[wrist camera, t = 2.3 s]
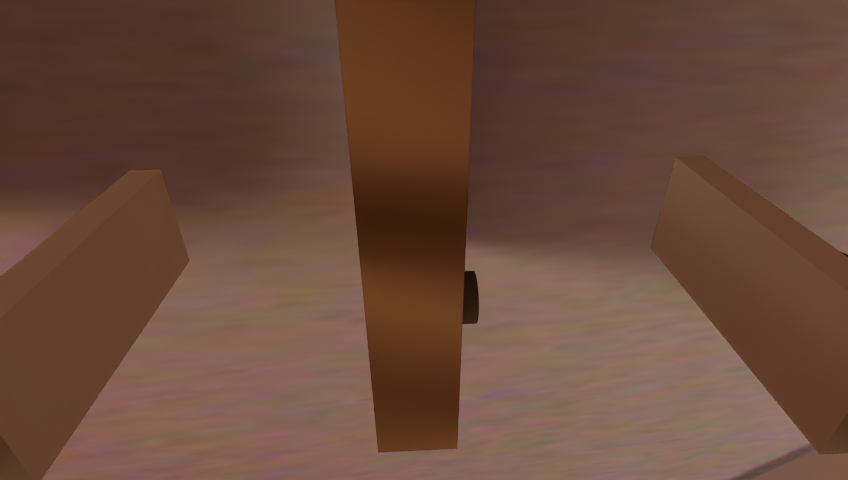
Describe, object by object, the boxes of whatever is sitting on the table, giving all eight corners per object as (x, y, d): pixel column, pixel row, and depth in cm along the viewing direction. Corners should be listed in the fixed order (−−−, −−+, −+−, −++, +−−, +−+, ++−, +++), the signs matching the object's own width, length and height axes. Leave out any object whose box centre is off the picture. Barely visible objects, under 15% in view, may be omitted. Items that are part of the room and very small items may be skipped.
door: (452, 232, 32) (493, 446, 19) (385, 234, 32) (378, 452, 18) (461, -182, 21) (582, -405, 7) (360, -182, 21) (295, -409, 7)
